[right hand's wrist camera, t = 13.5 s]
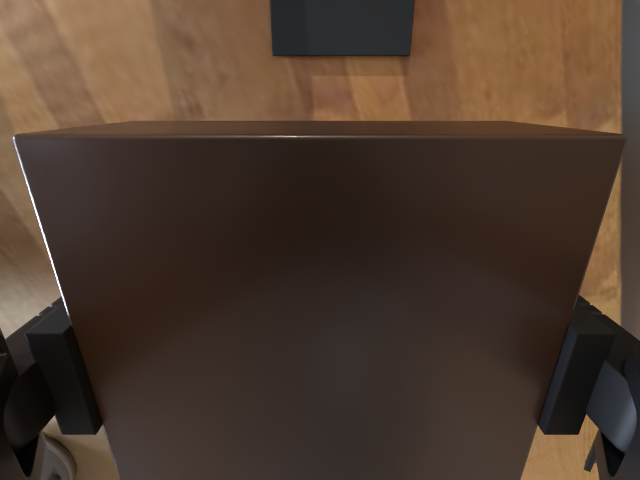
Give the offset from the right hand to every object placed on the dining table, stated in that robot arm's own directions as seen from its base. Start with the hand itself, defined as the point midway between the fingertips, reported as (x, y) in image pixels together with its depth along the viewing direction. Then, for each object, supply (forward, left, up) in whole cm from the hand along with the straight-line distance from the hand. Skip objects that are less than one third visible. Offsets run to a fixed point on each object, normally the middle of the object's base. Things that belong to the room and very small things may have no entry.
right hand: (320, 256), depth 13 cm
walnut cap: (0, 0, +2) cm, 2 cm away
